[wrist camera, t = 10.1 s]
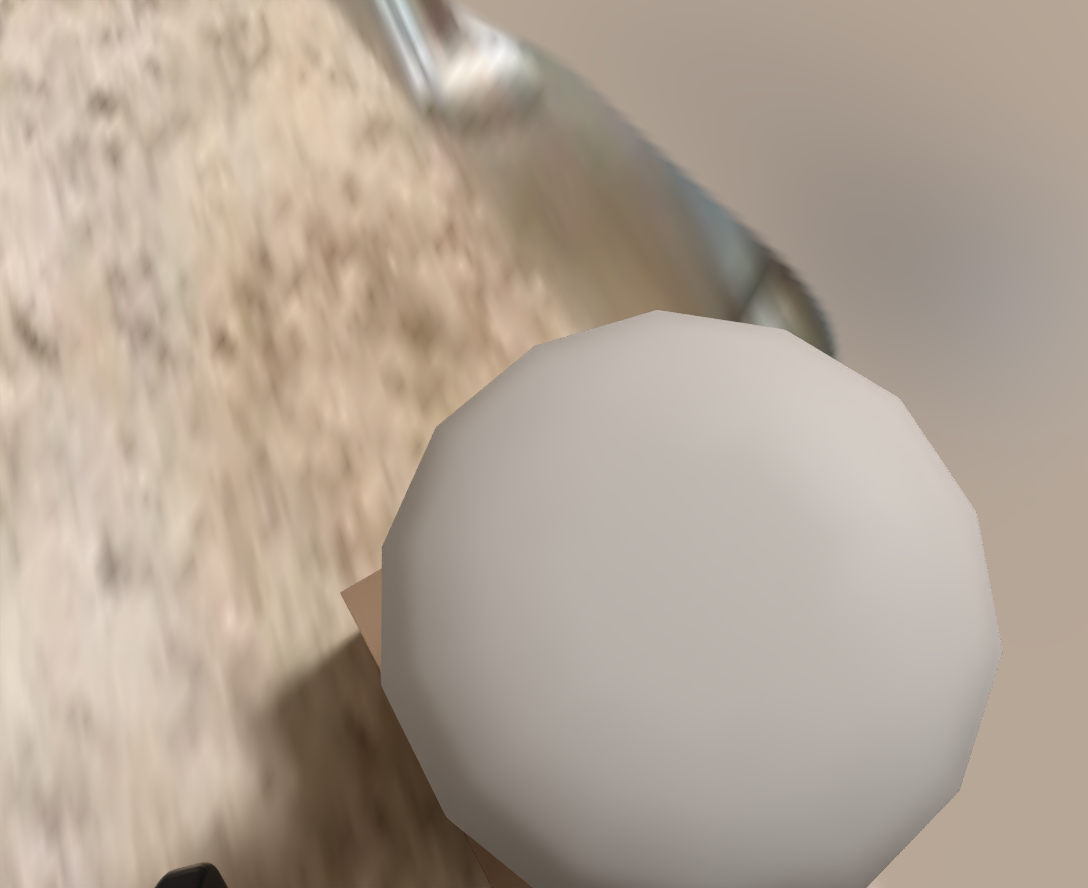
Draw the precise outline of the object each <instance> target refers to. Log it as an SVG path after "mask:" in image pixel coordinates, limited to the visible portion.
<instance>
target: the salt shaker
mask: <svg viewBox="0 0 1088 888" xmlns="http://www.w3.org/2000/svg"><path fill="white" fill-rule="evenodd" d="M1002 653H1003V652H1002V647H1001V641H1000V636H999V631H998V625H997V620H996V614H995V609H994V604H993V598H992V593H991V587H990V582H989V577H988V571H987V566H986V560H985V555H984V550H983V544H982V539H981V533H980V528H979V523H978V517H977V513H976V512H975V510H974V508H973V507H972V505H971V504H970V502H969V501H968V499H967V498H966V496H965V495H964V493H963V492H962V490H961V489H960V487H959V486H958V484H957V483H956V481H955V480H954V478H953V477H952V475H951V474H950V473H949V471H948V470H947V468H946V467H945V465H944V464H943V462H942V461H941V459H940V458H939V456H938V455H937V453H936V452H935V450H934V449H933V447H932V446H931V444H930V443H929V441H928V440H927V439H926V437H925V436H924V434H923V433H922V431H921V430H920V428H919V427H918V425H917V424H916V422H915V421H914V420H913V418H912V416H911V415H910V413H909V412H908V410H907V409H906V407H905V406H904V405H903V403H902V401H901V400H900V399H899V398H898V397H896V396H895V395H893V394H891V393H889V392H888V391H886V390H884V389H883V388H881V387H880V386H878V385H876V384H874V383H873V382H871V381H870V380H868V379H866V378H865V377H863V376H861V375H860V374H858V373H856V372H855V371H853V370H851V369H850V368H848V367H846V366H845V365H843V364H841V363H840V362H838V361H836V360H835V359H833V358H831V357H830V356H828V355H826V354H825V353H823V352H821V351H820V350H818V349H816V348H815V347H813V346H811V345H810V344H808V343H806V342H805V341H803V340H801V339H800V338H798V337H796V336H795V335H793V334H791V333H790V332H788V331H786V330H783V329H777V328H770V327H764V326H757V325H751V324H744V323H738V322H731V321H725V320H718V319H712V318H705V317H699V316H692V315H686V314H679V313H673V312H666V311H660V310H656V311H652V312H649V313H645V314H642V315H638V316H635V317H632V318H628V319H625V320H621V321H618V322H615V323H611V324H608V325H604V326H601V327H597V328H594V329H591V330H587V331H584V332H580V333H577V334H574V335H570V336H567V337H563V338H560V339H556V340H553V341H550V342H546V343H543V344H539V345H536V346H534V347H533V348H532V349H530V350H529V351H528V352H527V353H526V354H524V355H523V356H522V357H521V358H520V359H518V360H517V361H516V362H515V363H513V364H512V365H511V366H510V367H509V368H507V369H506V370H505V371H504V372H503V373H501V374H500V375H499V376H498V377H496V378H495V379H494V380H493V381H492V382H490V383H489V384H488V385H487V386H485V387H484V388H483V389H482V390H481V391H479V392H478V393H477V394H476V395H475V396H473V397H472V398H471V399H470V400H468V401H467V402H466V403H465V404H464V405H462V406H461V407H460V408H459V409H457V410H456V411H455V412H454V413H453V414H451V415H450V416H449V417H448V418H447V419H445V420H444V421H443V422H442V423H440V424H439V425H438V426H437V427H436V429H435V431H434V433H433V435H432V437H431V440H430V442H429V444H428V446H427V449H426V451H425V453H424V455H423V457H422V460H421V462H420V464H419V466H418V468H417V471H416V473H415V475H414V477H413V479H412V482H411V484H410V486H409V488H408V490H407V493H406V495H405V497H404V499H403V502H402V504H401V506H400V508H399V510H398V513H397V515H396V517H395V519H394V521H393V524H392V526H391V528H390V530H389V532H388V535H387V537H386V539H385V541H384V543H383V546H382V605H381V686H382V688H383V690H384V692H385V694H386V697H387V699H388V701H389V703H390V705H391V707H392V709H393V711H394V713H395V715H396V717H397V719H398V721H399V723H400V725H401V727H402V729H403V731H404V733H405V735H406V737H407V739H408V741H409V743H410V745H411V747H412V749H413V751H414V753H415V755H416V757H417V759H418V761H419V763H420V765H421V767H422V769H423V771H424V774H425V776H426V778H427V780H428V782H429V784H430V786H431V788H432V790H433V792H434V794H435V796H436V798H437V800H438V802H439V804H440V806H441V808H442V810H443V812H444V814H445V816H446V817H447V818H448V819H449V820H450V821H452V822H453V823H454V824H455V825H456V826H458V827H459V828H460V829H461V830H463V831H464V832H465V833H466V834H467V835H469V836H470V837H471V838H472V839H474V840H475V841H476V842H477V843H479V844H480V845H481V846H482V847H483V848H485V849H486V850H487V851H488V852H490V853H491V854H492V855H493V856H494V857H496V858H497V859H498V860H499V861H501V862H502V863H503V864H504V865H506V866H507V867H508V868H509V869H510V870H512V871H513V872H514V873H515V874H517V875H518V876H519V877H520V878H521V879H523V880H524V881H525V882H526V883H528V884H529V885H530V886H531V887H533V888H866V887H867V886H868V885H869V884H870V883H871V882H872V881H873V880H874V879H875V878H876V877H877V876H878V875H879V874H880V873H881V872H882V871H883V870H884V869H885V868H886V867H887V866H888V865H889V864H890V862H891V861H892V860H893V859H894V858H895V857H896V856H897V855H898V854H899V853H900V852H901V851H902V850H903V849H904V848H905V847H906V846H907V845H908V844H909V843H910V842H911V841H912V840H913V839H914V838H915V836H916V835H917V834H918V833H919V832H920V831H921V830H922V829H923V828H924V827H925V826H926V825H927V824H928V823H929V822H930V821H931V820H932V819H933V818H934V817H935V816H936V814H938V813H939V811H941V810H942V809H943V807H944V806H945V805H946V804H947V803H948V802H949V801H950V800H951V799H952V798H953V797H954V796H955V795H956V794H957V793H958V792H959V790H960V787H961V784H962V781H963V778H964V774H965V771H966V768H967V765H968V762H969V758H970V755H971V752H972V749H973V746H974V743H975V739H976V736H977V733H978V729H979V727H980V723H981V720H982V717H983V714H984V710H985V707H986V704H987V701H988V698H989V695H990V691H991V688H992V685H993V682H994V678H995V675H996V672H997V669H998V666H999V663H1000V659H1001V656H1002Z"/></svg>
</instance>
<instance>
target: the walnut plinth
mask: <svg viewBox="0 0 1088 888" xmlns="http://www.w3.org/2000/svg"><path fill="white" fill-rule="evenodd" d="M340 593H341V595H342V597H343V599H344V601H345V603H346V605H347V607H348V609H349V611H350V613H351V615H352V617H353V618H354V620H355V622H356V624H357V626H358V628H359V630H360V632H361V634H362V636H363V638H364V640H365V642H366V644H367V646H368V648H369V649H370V651H371V653H372V655H373V657H374V659H375V661H376V663H377V665H378V667H379V669H380V671H381V605H382V569H380V570H379V571H377V572H375V573H373V574H372V575H370V576H368V577H366V578H365V579H363V580H361V581H359V582H358V583H356V584H354V585H352V586H351V587H349V588H347V589H346V590H344V591H342V592H340ZM463 832H464V831H463ZM464 834H465V836H466V837H467V839H468V841H469V843H470V845H471V847H472V849H473V851H474V853H475V855H476V857H477V859H478V861H479V863H480V865H481V867H482V868H483V870H484V872H485V874H486V876H487V878H488V880H489V882H490V884H491V886H492V888H533V887H531V886H530V885H529V884H528V883H526V882H525V881H524V880H523V879H521V878H520V877H519V876H518V875H517V874H515V873H514V872H513V871H512V870H510V869H509V868H508V867H507V866H506V865H504V864H503V863H502V862H501V861H499V860H498V859H497V858H496V857H494V856H493V855H492V854H491V853H490V852H488V851H487V850H486V849H485V848H483V847H482V846H481V845H480V844H479V843H477V842H476V841H475V840H474V839H472V838H471V837H470V836H469V835H467V834H466V833H465V832H464Z"/></svg>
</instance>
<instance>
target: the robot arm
mask: <svg viewBox="0 0 1088 888" xmlns="http://www.w3.org/2000/svg"><path fill="white" fill-rule="evenodd" d="M155 888H228V887H227V885H226V883H225V882H224V880H223V878H222V876H221V875H220V873H219V871H218V870H217V868H216V867H215V866H214V865H212V864H211V863H209V862H207V863H205V862H203V863H199V864H195V865H191V866H187V867H182V868H178V869H175V870H172V871H170V872H168V873H167V874H166V875H165V876H164V877H162V879H161V880H160V881H159V882H158V884H157V885H156V887H155Z"/></svg>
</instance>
